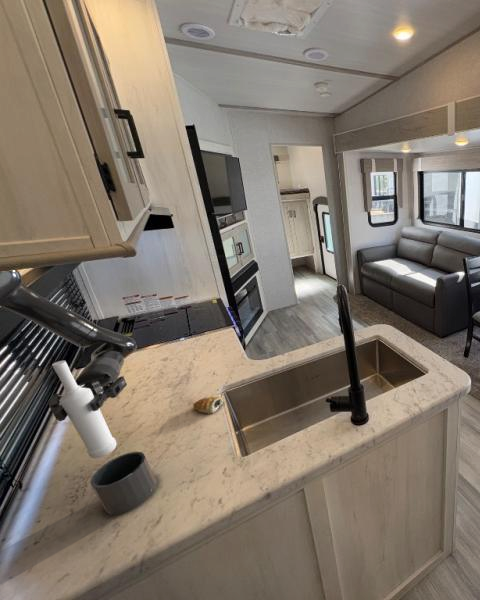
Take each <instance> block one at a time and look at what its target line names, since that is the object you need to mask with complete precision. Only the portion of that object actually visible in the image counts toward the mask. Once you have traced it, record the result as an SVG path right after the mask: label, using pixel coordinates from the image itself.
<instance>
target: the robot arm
mask: <svg viewBox="0 0 480 600" xmlns="http://www.w3.org/2000/svg"><path fill="white" fill-rule="evenodd" d="M0 307H1V308H3V309H5V310H7V311H8V310H9V311H10V312H13V313H15V314H17V315H19V316H21V317H23V318H26V319H28V320H29V321H31V322H33V323H34V324H36V325H38V326H40V327H42V328H44V329H45V330H47V331H49V332H50V333H52V334H54V335H56V336H58V337H60V338H62V339H64V340H66V341H67V342H69V343H71V344H73V345H75V346H77V347H79V348H83V349H84V348H88V347H90V346H92V345H95V344H98V343H103V344H102V345H100V346H99V347H97V348H96V349H95V350H94V351H93V352H92V353H91V355H90V361H89V363H88V364H86V365H85V367H84V368H83V369H82V371H81V372H80V373H79V375H78V376H77V378H76V379H74V380H75V382H76V383H77V385H78V386H81V387H82V388H90V389H91V391H92V393H93V396H94V398H93V400H92V401H91V403H90V406H91V408H92V410H93V411H97V410H98V409H100V408H101V407H103V406H104V403H105V402H107V401H108V399H109V398H110V399H115V398H117V397H118V396H119V395H120V393H122V391H123V390H124V389H125V388H126V387H127V385H128V383H127V381H126V379H125V376H123V375H122V376H120V374H121V371H122V368H123V366H124V363H125V359H127V357H129V356H131V355H132V354H133V353H135V351H137V348H138V345H137V342H136V340H134V338H132V337H131V336H129V335H126V334H124V333H121V332H116V331H113V330H110V329H107V328H105V327H102V326H99V325H97V324H96V323H94V322H93V321H91V320H90V319H87V318H86V317H84V316H82V315H80V314H78V313H77V312H75V311H73V310H71V309H68V308H66V307H64V306H62V305H59V304H57V303H55V302H53V301H52V300H51V301H50V300H49V299H47V298H45V297H43V296H41V295H40V294H38V293H36V292H35V291H34V290H32V289H30V288H29V287H27V286H26V285H25V284H24V283H23V278H22V274H21V273H20V271H19V270H18V269H17V270H13V271H5V272H0ZM63 395H64V394H59V393H54V394H52V395H50V399H49V404H48V407H49V409H50V410H51V412H52V414H53V416H54V418H55V420H56V421H58V422H63V421H66V419H67V417H68V415H67V413H66V412H65V410H64V408H63V406H62V405H61V403H60V401H59V400H60V399H61V398H62V396H63Z"/></svg>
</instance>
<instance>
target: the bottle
mask: <svg viewBox="0 0 480 600" xmlns="http://www.w3.org/2000/svg"><path fill="white" fill-rule="evenodd" d="M51 365H52V368H53V369H54V372H55V373H56V374H57V376H58V378H59V380H60V382H61V384H62V386H63V388H64V391H63V393H64V394H62V395H63V396H62V398H61V399H60V400H59V401H60V403H61V405H62V406H63V408H64V410H65V412H66V413H67V417H68V418H69V420H70V422H71V424H72V425H73V427H74V429H75V430H76V432H77V434H78V435H79V438H80V439H81V440H82V442H83V444H84V446H85V448H86V453H87V454H88V456H89V457H90V458H91V459H100V458H102V457H105V456H106V455H109V454H110V453H112V452H113V451H114V450H115V449H116V448H117V446H118V445H117V440H116V438H115V437H113V435H112V432H111V431H110V428H109V427H108V424H107V422H106V420H105V418H104V416H103V414H102V410H101V409H100V408H99V409H98V410H97V411H93V410H92V408H91V406H90V403H91V401H92V400H93V398H94V396H93V393H92V391H91V389H90V388H82V387H81V386H78V385H77V383H76V382H75V380H76V379H75V377H74V376H73V374H72V372H71V370H70V367H69V365H68V363H67V361H66V360H59V361H56V362H54V363H52V364H51Z"/></svg>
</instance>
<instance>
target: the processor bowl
mask: <svg viewBox="0 0 480 600" xmlns="http://www.w3.org/2000/svg"><path fill="white" fill-rule="evenodd" d="M148 461H149V460H148V459H147V457H146V455H145V453H144V452H141V451H132V452H127V453H123V454H121V455H119V456H116V457H114V458H112V459H111V460H109V461H108V462H106V463H105V464H103V465H101V467H100V468H99V469H97V470H96V471H95V473H94V474H93V475H92V477H91V479H90V487H91V488H92V490H93V492H94V493H95V495H96V496H97V498H98V500H99V503H100V504H101V506H102V507H103V509H104V510H105V512H106V513H107V514H109V515H113V516H117V515H122V514H125V513H128V512H129V511H132V510H133V509H136V508H137V507H138V506H140V505H141V504H143V503H144V502H145V501H146V500H147V499H148V498H149V497H150V496H151V495H152V494H153V493H154V492H155V490H156V488H157V483H158V482H157V479H156V477H155V475H154V473H153V470H152V468H151V466H150V463H149V462H148Z"/></svg>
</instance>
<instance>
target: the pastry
mask: <svg viewBox="0 0 480 600" xmlns="http://www.w3.org/2000/svg"><path fill="white" fill-rule="evenodd" d="M223 403H224V399H223V398H222V397H221V396H212V395H210V396H209V397H203V398H201V399H198V400H196V401H195V402H194V403H193V404H192V405H193V409H195V410H196V411H198V412H199V413H202V414H213V413H215V412H216V411H217V410H218V409H219V408H220V407H221V406H222V405H223Z"/></svg>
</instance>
